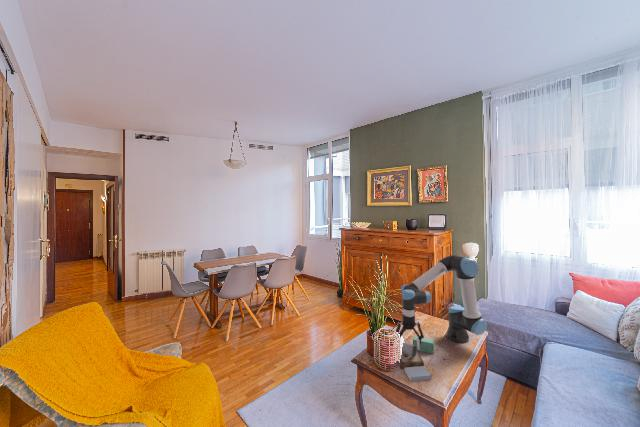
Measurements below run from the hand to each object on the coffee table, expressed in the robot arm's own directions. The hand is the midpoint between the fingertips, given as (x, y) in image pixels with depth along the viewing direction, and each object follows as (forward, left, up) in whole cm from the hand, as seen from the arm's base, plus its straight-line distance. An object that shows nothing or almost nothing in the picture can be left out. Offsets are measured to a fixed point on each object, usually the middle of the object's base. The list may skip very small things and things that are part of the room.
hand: (409, 348), depth 171 cm
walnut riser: (0, 0, -9) cm, 9 cm away
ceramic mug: (+1, +1, -5) cm, 5 cm away
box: (-14, -15, -9) cm, 23 cm away
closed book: (-1, +13, -9) cm, 16 cm away
